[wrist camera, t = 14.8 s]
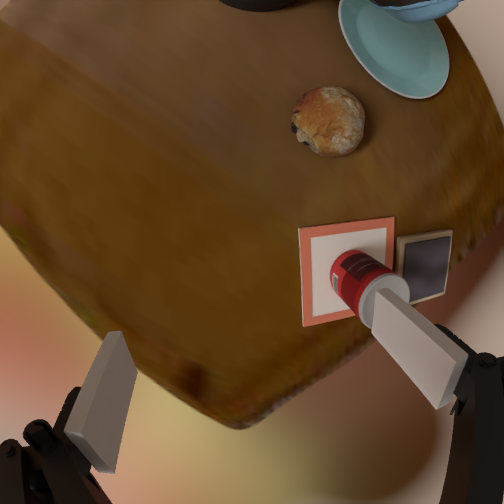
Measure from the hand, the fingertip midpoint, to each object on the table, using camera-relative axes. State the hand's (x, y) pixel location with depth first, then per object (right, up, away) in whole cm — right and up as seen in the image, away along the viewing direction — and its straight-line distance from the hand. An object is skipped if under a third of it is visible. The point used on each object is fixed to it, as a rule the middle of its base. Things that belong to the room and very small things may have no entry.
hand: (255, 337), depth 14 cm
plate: (+23, +39, +20) cm, 49 cm away
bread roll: (+10, +22, +23) cm, 33 cm away
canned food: (+15, +1, +30) cm, 34 cm away
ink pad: (+30, +1, +32) cm, 44 cm away
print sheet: (+15, +1, +30) cm, 34 cm away
